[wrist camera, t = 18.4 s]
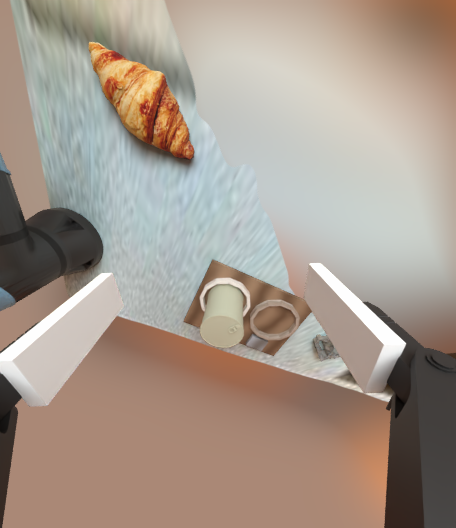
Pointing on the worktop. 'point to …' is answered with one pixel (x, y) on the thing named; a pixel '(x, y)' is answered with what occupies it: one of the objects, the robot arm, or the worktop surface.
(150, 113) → the croissant
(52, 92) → the worktop surface
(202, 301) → the ring
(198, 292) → the walnut board
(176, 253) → the worktop surface
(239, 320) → the can
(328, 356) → the egg carton
